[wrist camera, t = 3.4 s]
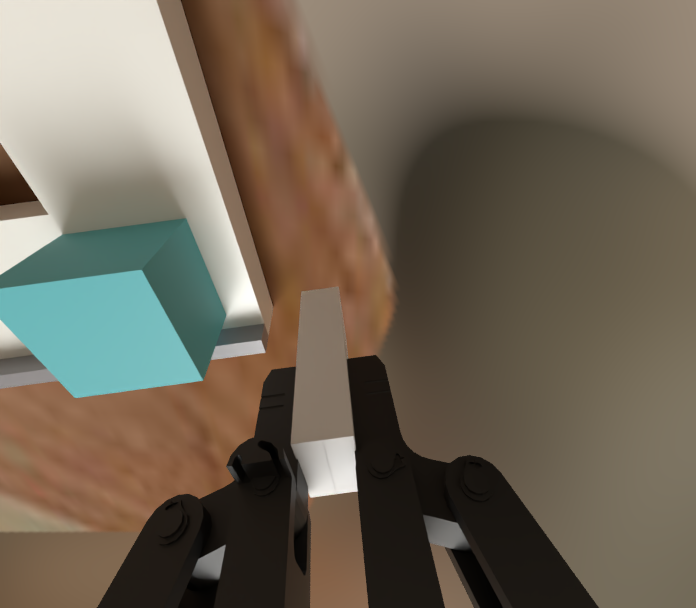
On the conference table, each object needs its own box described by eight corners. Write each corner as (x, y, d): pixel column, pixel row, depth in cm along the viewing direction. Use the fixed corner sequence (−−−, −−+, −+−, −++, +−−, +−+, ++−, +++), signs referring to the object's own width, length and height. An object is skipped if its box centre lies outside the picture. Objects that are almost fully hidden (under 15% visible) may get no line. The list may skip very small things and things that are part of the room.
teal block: (62, 234, 16) (-26, 292, 12) (186, 218, 16) (141, 269, 12) (125, 328, 19) (75, 398, 15) (226, 315, 19) (203, 380, 15)
